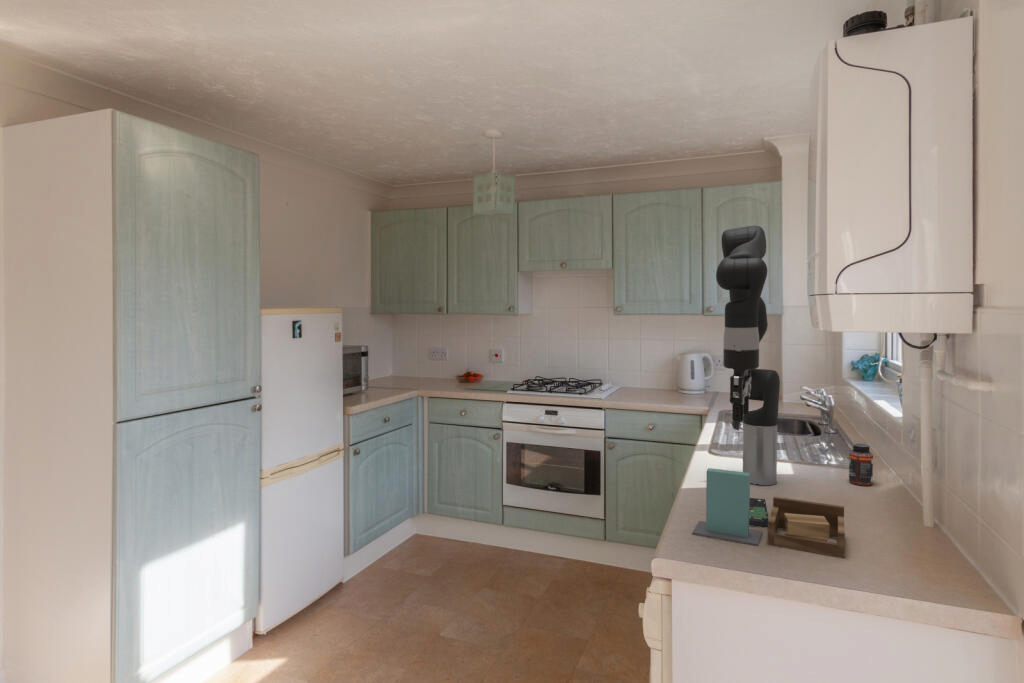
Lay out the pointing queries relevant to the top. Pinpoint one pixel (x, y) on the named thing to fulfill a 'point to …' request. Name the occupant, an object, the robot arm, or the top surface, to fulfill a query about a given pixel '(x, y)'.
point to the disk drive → (758, 512)
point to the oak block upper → (806, 525)
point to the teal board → (728, 502)
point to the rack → (792, 506)
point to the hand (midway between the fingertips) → (740, 417)
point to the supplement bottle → (861, 465)
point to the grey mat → (728, 535)
